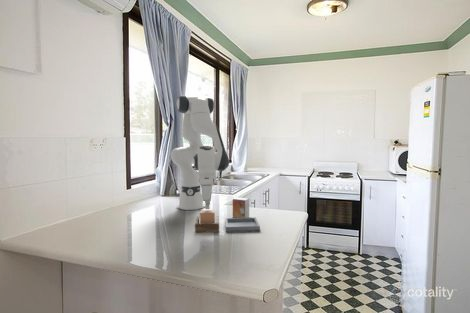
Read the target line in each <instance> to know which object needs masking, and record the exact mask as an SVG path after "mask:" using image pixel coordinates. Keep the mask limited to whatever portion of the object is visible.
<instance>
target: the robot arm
mask: <svg viewBox="0 0 470 313" xmlns="http://www.w3.org/2000/svg"><path fill="white" fill-rule="evenodd" d="M176 108H177V111H178V112H179V113H182V114H183V119H182V133H181V134H182V137H183V139H184V140H186V141H187V142H188V144H189V146H181V147H175V148H173V149H172V150H171V153H170V159H171V161H172V163H173V164H174V165H176V166H177V167H178V169H179V172H180V174H181V181H182V183H181V187H180V190H181V193H180V194H179V198H178V199H179V202H178V205H177V206H176V209H181V210H184V211H185V210H186V211H191V210H192V211H194V210H195V211H196V210H199V209H203V208H205V210H210V205H211V201H212V196H213V195H212V193H213V187H214V185H215V184H216V183H217V171H218V172H224V171H225V170H227V168H228V167H229V165H230V159H229V155H228V154H227V151H226V148H225V145H224V141H223V138H222V134H221V132H220V129H219V126H218V125H216V124H215V123H214V122H213V120H212V118H211V114H212V113H213V112H214V109H215V102H214V99H213V98H212V97H210V96H203V95H199V94H198V95H197V94H196V95H194V94H193V95H189V94H188V95H186V94H182V95H179V96H178V97H177V100H176ZM201 135H204V136H206V137H209V138H211V139H212V141H213V142H214V143H213V144H214V147H215V148H214V147H213V146H209V145H204V144H203V140H202V137H201ZM215 149H216V152H215Z"/></svg>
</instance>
